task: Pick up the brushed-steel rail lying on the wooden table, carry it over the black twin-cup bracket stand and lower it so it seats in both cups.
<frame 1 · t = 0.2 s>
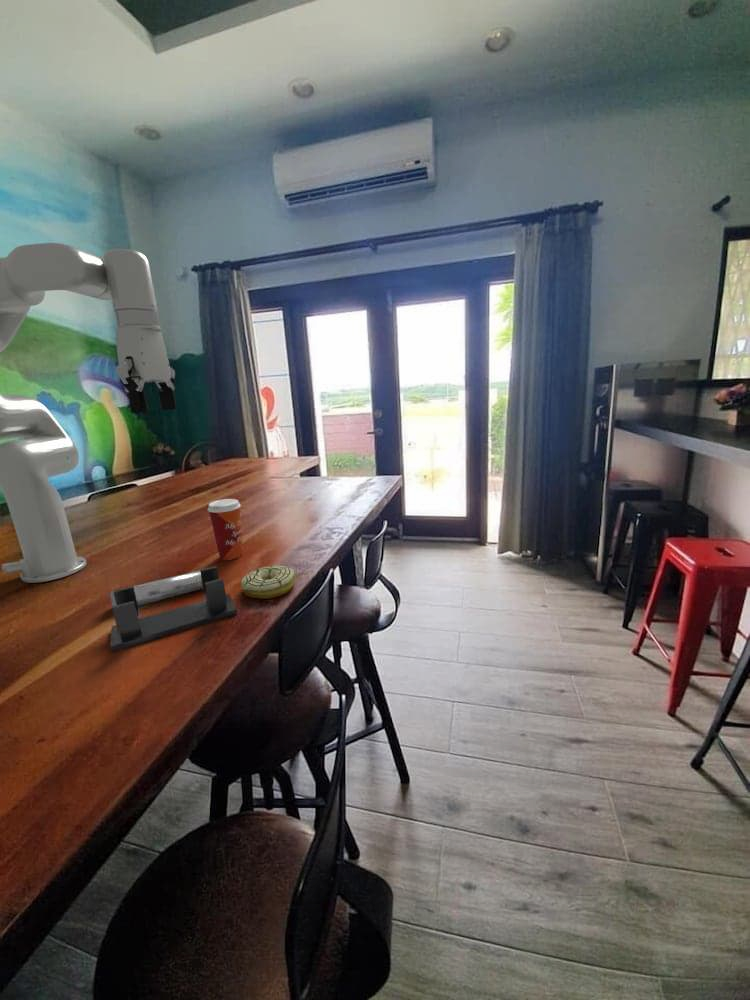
hand: (155, 411, 85), 37 cm above the table, tool pointing down, fingers open, 9 cm apart
decorated donut: (270, 590, 85), on the table
rail: (164, 589, 83), point 2 cm above the table
cradle stand: (176, 622, 74), on the table
paper cup: (231, 556, 103), on the table
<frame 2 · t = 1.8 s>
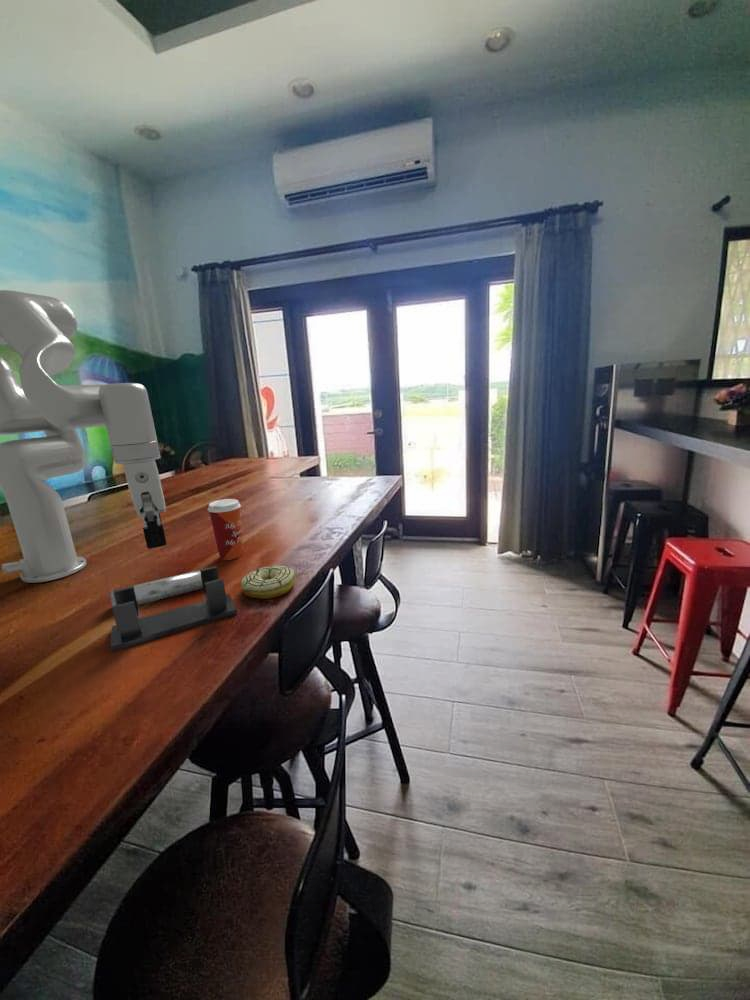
hand: (155, 539, 80), 13 cm above the table, tool pointing down, fingers open, 9 cm apart
rail: (164, 588, 83), point 2 cm above the table, tilted 9°
everything else where it was.
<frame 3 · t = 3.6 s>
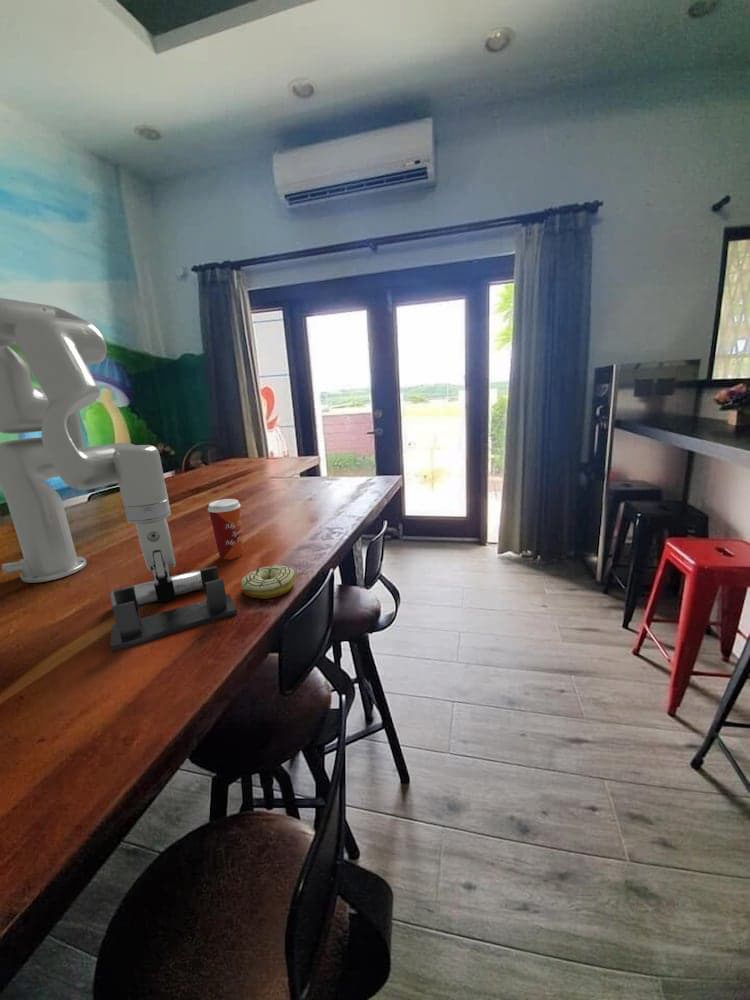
hand: (165, 594, 83), 0 cm above the table, tool pointing down, fingers closed on rail, 4 cm apart
rail: (164, 588, 83), point 2 cm above the table, touching gripper
everything else where it was.
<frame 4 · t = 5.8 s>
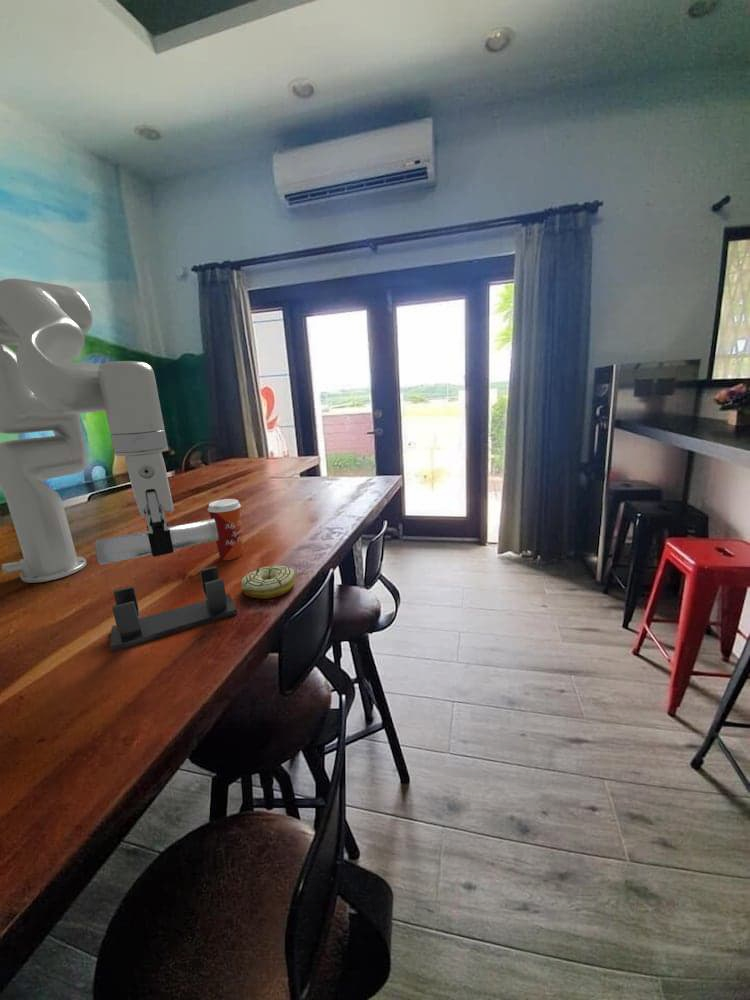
hand: (162, 548, 70), 14 cm above the table, tool pointing down, fingers closed on rail, 4 cm apart
rail: (160, 540, 69), point 16 cm above the table, touching gripper
everything else where it was.
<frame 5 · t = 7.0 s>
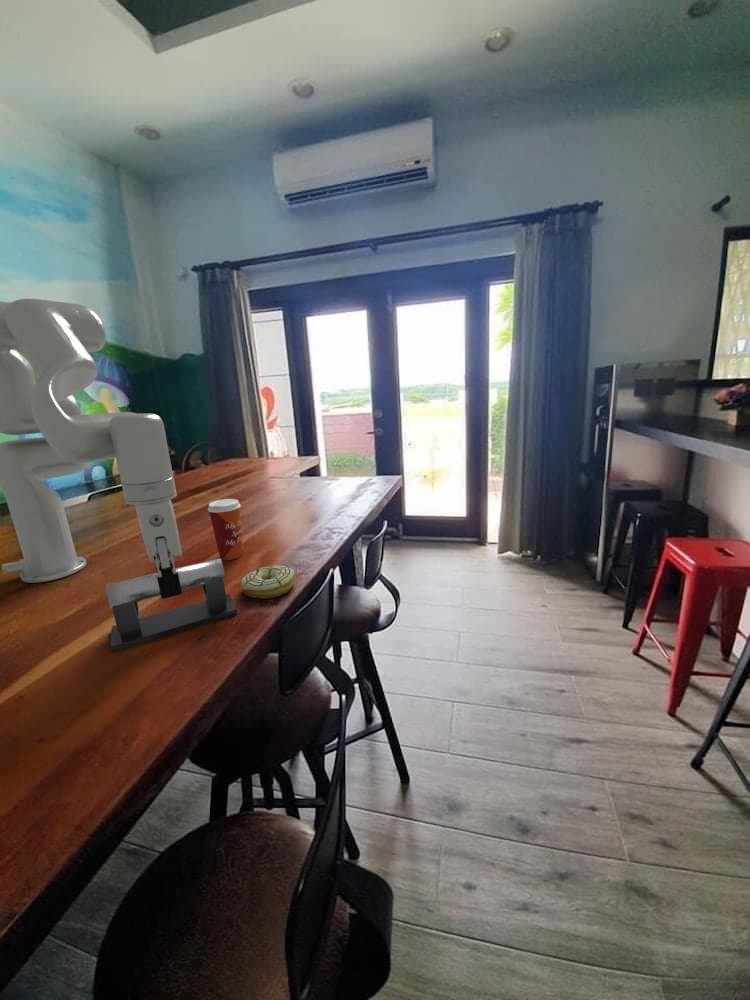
hand: (170, 589, 72), 7 cm above the table, tool pointing down, fingers closed on rail, 4 cm apart
rail: (169, 581, 71), point 8 cm above the table, touching gripper
everything else where it was.
when the fingers open (5 cm above the table, at t = 8.0 s): rail drops 1 cm, resting on cradle stand.
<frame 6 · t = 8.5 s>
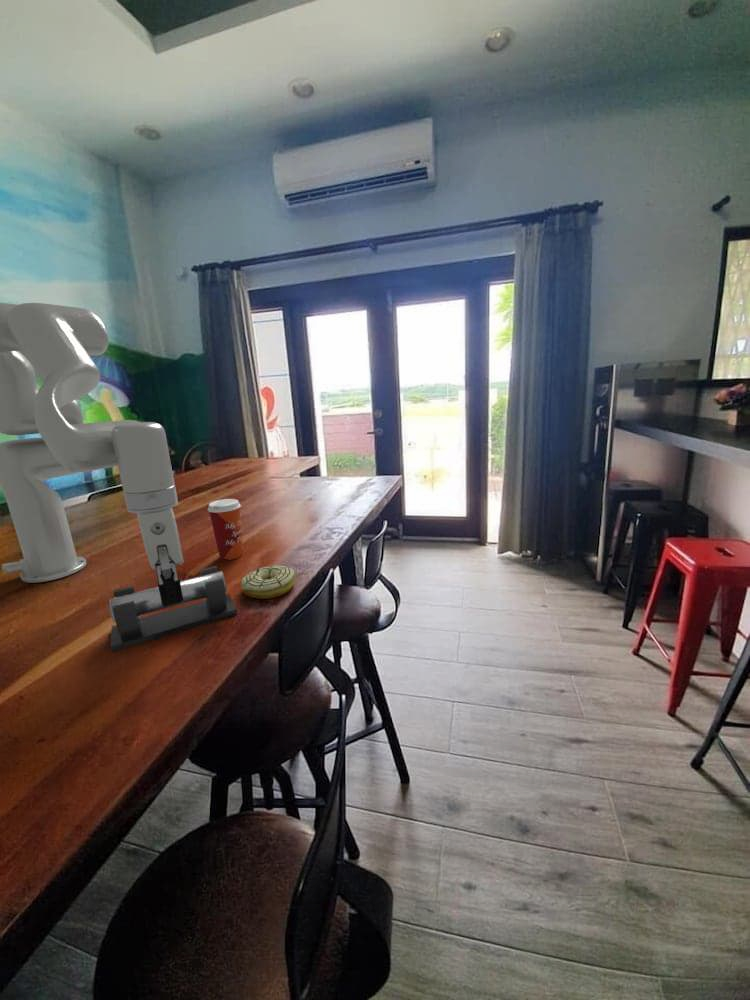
hand: (170, 591, 72), 6 cm above the table, tool pointing down, fingers open, 9 cm apart
rail: (171, 595, 72), point 5 cm above the table, touching cradle stand
everything else where it was.
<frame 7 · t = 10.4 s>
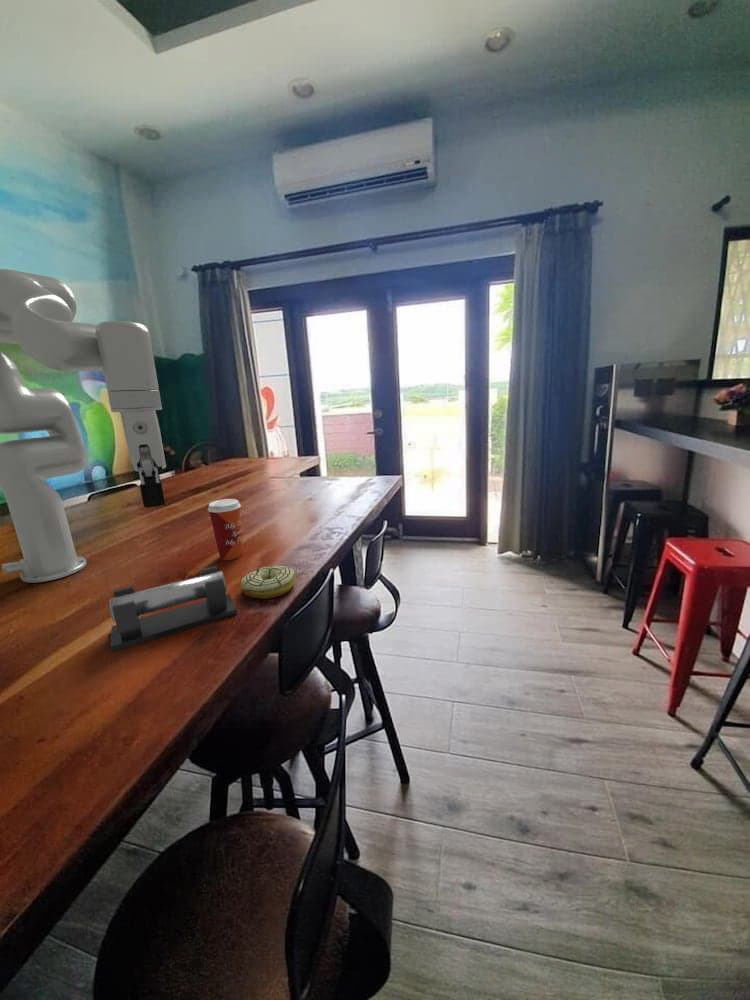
hand: (153, 499, 73), 22 cm above the table, tool pointing down, fingers open, 9 cm apart
nothing on the table moved.
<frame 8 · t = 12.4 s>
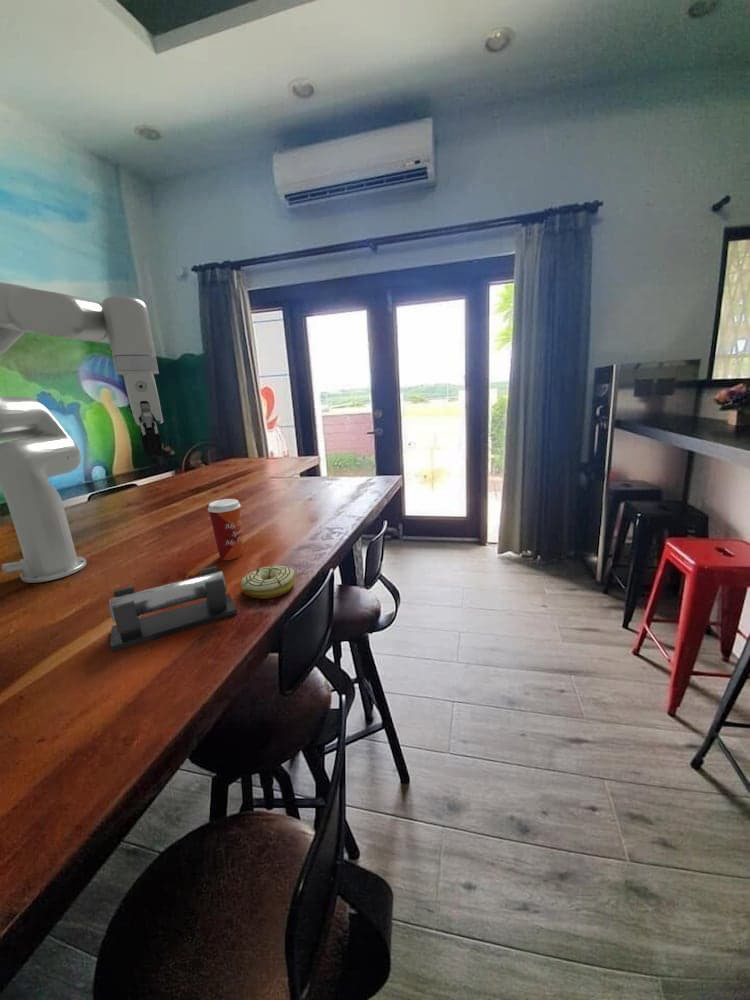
hand: (153, 452, 85), 28 cm above the table, tool pointing down, fingers open, 9 cm apart
nothing on the table moved.
at the end: rail inside the target area on the cradle stand (0.1 cm from its centre), point 5.5 cm above the cradle stand's base; rail touching cradle stand; the gripper is holding nothing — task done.
